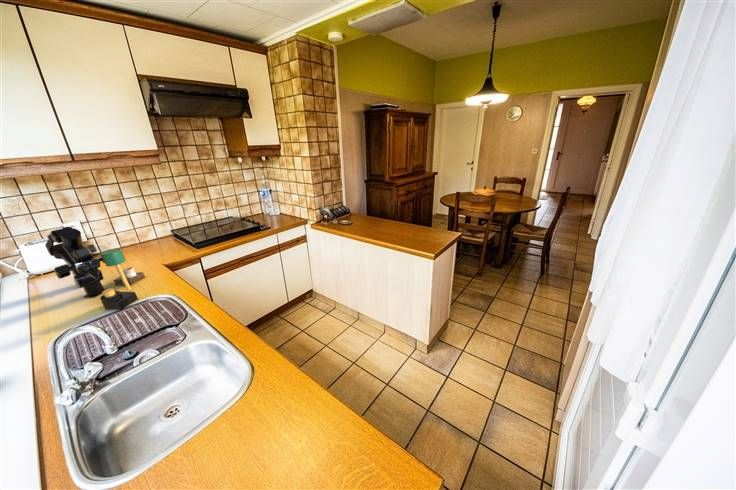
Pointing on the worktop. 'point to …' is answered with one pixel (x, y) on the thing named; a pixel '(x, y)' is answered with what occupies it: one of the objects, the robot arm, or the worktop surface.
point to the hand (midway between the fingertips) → (98, 278)
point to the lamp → (115, 262)
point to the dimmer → (129, 272)
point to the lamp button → (109, 293)
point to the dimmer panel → (130, 279)
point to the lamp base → (118, 300)
